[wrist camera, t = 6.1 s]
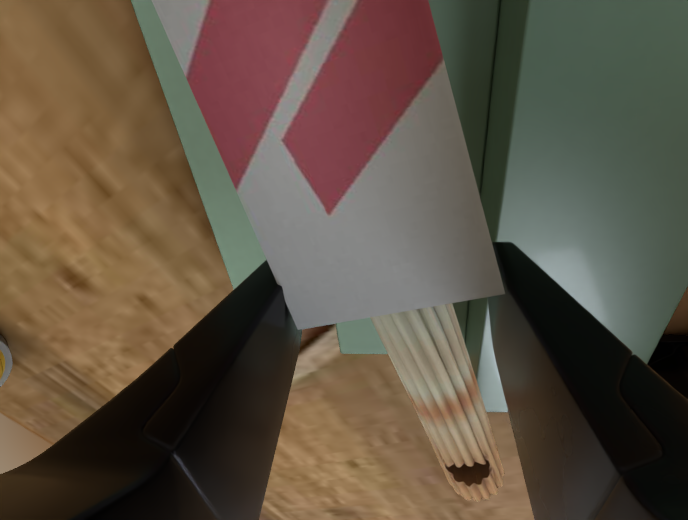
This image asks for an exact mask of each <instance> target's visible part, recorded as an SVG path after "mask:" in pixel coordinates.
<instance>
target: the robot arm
mask: <svg viewBox="0 0 688 520" xmlns="http://www.w3.org/2000/svg"><path fill="white" fill-rule="evenodd" d="M492 245H493V249H494V253H495V257H496V261H497V264H498V268H499V272H500V276H501V280H502V283H503V287H504V291H505V294H502V295H496V296H491V297H487V299H488V308H489V317H490V327H491V336H492V344H493V350H494V355H495V359H496V363H497V368H498V372H499V376H500V380H501V384H502V388H503V392H504V396H505V400H506V404H507V409H508V413H509V417H510V421H511V425H512V429H513V433H514V437H515V441H516V445H517V449H518V454H519V458H520V462H521V466H522V470H523V474H524V478H525V482H526V486H527V490H528V495H529V499H530V503H531V507H532V511H533V515H534V519H535V520H688V336H686V335H662V336H661V338H660V340H659V342H658V344H657V346H656V348H655V350H654V352H653V353H652V355H651V357H650V359H649V361H648V363H647V364H646V363H645V362H644V361H643V360H642V359H640V358H639V357H638V356H637V355H635V354H634V355H632V353H633V352H632V351H631V350H630V349H629V348H628V347H627V346H626V345H625V344H624V343H623V342H622V341H620V340H619V339H618V338H617V337H616V336H615V335H614V334H613V333H612V332H611V331H609V330H608V329H607V328H606V327H605V326H604V325H603V324H602V323H601V322H600V321H598V320H597V319H596V318H595V317H594V316H593V315H592V314H591V313H590V312H589V311H587V310H586V309H585V308H584V307H583V306H582V305H581V304H580V303H579V302H578V301H576V300H575V299H574V298H573V297H572V296H571V295H570V294H569V293H568V292H567V291H565V290H564V289H563V288H562V287H561V286H560V285H559V284H558V283H557V282H556V281H555V280H553V279H552V278H551V277H550V276H549V275H548V274H547V273H546V272H545V271H544V270H542V269H541V268H540V267H539V266H538V265H537V264H536V263H535V262H534V261H533V260H531V259H530V258H529V257H528V256H527V255H526V254H525V253H524V252H523V251H522V250H520V249H519V248H518V247H517V246H516V245H515V244H514V243H512V242H492ZM301 335H302V329H300V330H298V329H297V327H296V324H295V322H294V320H293V318H292V315H291V313H290V311H289V309H288V306H287V304H286V302H285V298H284V293H283V288H282V286H281V285H278V284H277V282H276V279H275V277H274V275H273V273H272V270H271V268H270V266H269V264H268V261H267V259H266V260H265V261H264V262H263V263H262V264H261V265H260V266H259V267H258V268H257V269H256V270H255V271H254V272H252V273H251V274H250V275H249V276H248V277H247V278H246V279H245V280H244V281H243V282H242V283H241V284H239V285H238V286H237V287H236V288H235V289H234V290H233V291H232V292H231V293H230V294H229V295H228V296H227V297H225V298H224V299H223V300H222V301H221V302H220V303H219V304H218V305H217V306H216V307H215V308H214V309H212V310H211V311H210V312H209V313H208V314H207V315H206V316H205V317H204V318H203V319H202V320H201V321H200V322H198V323H197V324H196V325H195V326H194V327H193V328H192V329H191V330H190V331H189V332H188V333H187V334H185V335H184V336H183V337H182V338H181V339H180V340H179V341H178V342H177V343H176V344H175V345H174V346H173V348H174V349H173V348H170V349H169V350H168V351H167V352H166V353H165V354H164V355H163V356H162V357H160V358H159V359H158V360H157V361H156V362H155V363H154V364H153V365H152V366H150V367H149V368H148V369H147V370H146V371H145V372H144V373H143V374H141V375H140V376H139V377H138V378H137V379H136V380H135V381H133V382H132V383H131V384H130V385H128V386H127V387H126V388H125V389H123V390H122V391H121V392H120V393H119V394H117V395H116V396H115V397H114V398H112V399H111V400H110V401H109V402H107V403H106V404H105V405H104V406H102V407H101V408H100V409H98V410H97V411H96V412H95V413H93V414H92V415H91V416H90V417H88V418H87V419H86V420H84V421H83V422H82V423H81V424H79V425H78V426H77V427H75V428H74V429H73V430H72V431H70V432H69V433H68V434H67V435H65V436H64V437H63V438H61V439H60V440H59V441H58V442H56V443H55V444H54V445H53V446H51V447H50V448H48V449H47V450H46V451H44V452H43V453H42V454H40V455H39V456H37V457H35V458H34V459H32V460H31V461H29V462H27V463H26V464H23V465H21V466H19V467H17V468H15V469H13V470H10V471H8V472H5V473H3V474H0V520H259V517H260V512H261V508H262V504H263V500H264V496H265V492H266V487H267V483H268V479H269V475H270V471H271V467H272V462H273V458H274V454H275V450H276V446H277V441H278V437H279V433H280V429H281V425H282V421H283V416H284V412H285V408H286V404H287V400H288V396H289V391H290V387H291V383H292V379H293V375H294V371H295V366H296V362H297V358H298V354H299V349H300V343H301Z"/></svg>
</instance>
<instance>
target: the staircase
mask: <svg viewBox="0 0 688 520" xmlns="http://www.w3.org/2000/svg"><path fill="white" fill-rule="evenodd" d="M428 1H429V5H430V9H431V13H432V17H433V20H434V24H435V28H436V32H437V36H438V39H439V43H440V47H441V51H442V55H443V58H444V62H445V66H446V70H447V74H448V78H449V81H450V85H451V89H452V93H453V97H454V100H455V104H456V108H457V112H458V116H459V119H460V123H461V127H462V131H463V135H464V139H465V142H466V146H467V150H468V154H469V158H470V161H471V165H472V169H473V173H474V177H475V180H476V184H477V188H478V192H479V196H480V200H481V203H482V207H483V211H484V215H485V219H486V222H487V226H488V230H489V234H490V238H491V241H492V242H512V243H514V244H515V245H516V246H517V247H518V248H519V249H520V250H522V251H523V252H524V253H525V254H526V255H527V256H528V257H529V258H530V259H531V260H533V261H534V262H535V263H536V264H537V265H538V266H539V267H540V268H541V269H542V270H544V271H545V272H546V273H547V274H548V275H549V276H550V277H551V278H552V279H553V280H555V281H556V282H557V283H558V284H559V285H560V286H561V287H562V288H563V289H564V290H565V291H567V292H568V293H569V294H570V295H571V296H572V297H573V298H574V299H575V300H576V301H578V302H579V303H580V304H581V305H582V306H583V307H584V308H585V309H586V310H587V311H589V312H590V313H591V314H592V315H593V316H594V317H595V318H596V319H597V320H598V321H600V322H601V323H602V324H603V325H604V326H605V327H606V328H607V329H608V330H609V331H611V332H612V333H613V334H614V335H615V336H616V337H617V338H618V339H619V340H620V341H622V342H623V343H624V344H625V345H626V346H627V347H628V348H629V349H630V350H631V351H632V352H633V353H632V355H634V354H635V355H637V356H638V357H639V358H640V359H642V360H643V361H644V362H645V363H646V364H647V363H648V361H649V359H650V357H651V355H652V353H653V352H654V350H655V348H656V346H657V344H658V342H659V340H660V338H661V336H662V334H663V332H664V331H665V329H666V327H667V325H668V323H669V321H670V319H671V317H672V315H673V313H674V311H675V310H676V308H677V306H678V304H679V302H680V300H681V298H682V296H683V294H684V292H685V290H686V289H687V287H688V0H428ZM131 2H132V5H133V8H134V11H135V14H136V16H137V19H138V22H139V25H140V28H141V31H142V33H143V36H144V39H145V42H146V45H147V47H148V50H149V53H150V56H151V59H152V61H153V64H154V67H155V70H156V73H157V75H158V78H159V81H160V84H161V87H162V90H163V92H164V95H165V98H166V101H167V104H168V106H169V109H170V112H171V115H172V118H173V120H174V123H175V126H176V129H177V132H178V134H179V137H180V140H181V143H182V146H183V149H184V151H185V154H186V157H187V160H188V163H189V165H190V168H191V171H192V174H193V177H194V179H195V182H196V185H197V188H198V191H199V193H200V196H201V199H202V202H203V205H204V208H205V210H206V213H207V216H208V219H209V222H210V224H211V227H212V230H213V233H214V236H215V238H216V241H217V244H218V247H219V250H220V252H221V255H222V258H223V261H224V264H225V267H226V269H227V272H228V275H229V278H230V281H231V283H232V286H233V289H235V288H236V287H237V286H238V285H239V284H241V283H242V282H243V281H244V280H245V279H246V278H247V277H248V276H249V275H250V274H251V273H252V272H254V271H255V270H256V269H257V268H258V267H259V266H260V265H261V264H262V263H263V262H264V261H265V260H266V257H265V255H264V252H263V250H262V248H261V246H260V243H259V241H258V239H257V237H256V234H255V232H254V230H253V228H252V225H251V223H250V221H249V219H248V216H247V214H246V212H245V210H244V207H243V205H242V203H241V201H240V198H239V196H238V194H237V191H236V189H235V187H234V185H233V182H232V180H231V178H230V176H229V173H228V171H227V169H226V167H225V164H224V162H223V160H222V158H221V155H220V153H219V151H218V149H217V146H216V144H215V142H214V140H213V137H212V135H211V133H210V131H209V128H208V126H207V124H206V122H205V119H204V117H203V115H202V113H201V110H200V108H199V106H198V104H197V101H196V99H195V97H194V95H193V92H192V90H191V88H190V86H189V83H188V81H187V79H186V77H185V74H184V72H183V70H182V68H181V65H180V63H179V61H178V59H177V56H176V54H175V52H174V50H173V47H172V45H171V43H170V41H169V38H168V36H167V34H166V32H165V29H164V27H163V25H162V23H161V20H160V18H159V16H158V14H157V11H156V9H155V7H154V5H153V2H152V0H131ZM452 304H453V307H454V310H455V314H456V317H457V320H458V323H459V326H460V329H461V333H462V336H463V339H464V342H465V345H466V349H467V352H468V355H469V358H470V361H471V365H472V368H473V371H474V374H475V377H476V380H477V384H478V387H479V390H480V393H481V396H482V400H483V403H484V406H485V410H486V412H508V409H507V404H506V400H505V396H504V392H503V388H502V384H501V380H500V376H499V372H498V368H497V363H496V359H495V355H494V350H493V344H492V336H491V327H490V317H489V308H488V299H487V297H485V298H479V299H473V300H468V301H462V302H456V303H452ZM336 329H337V335H338V341H339V347H340V352H341V353H343V354H388V353H387V351H386V349H385V347H384V345H383V343H382V341H381V338H380V336H379V334H378V332H377V330H376V328H375V326H374V324H373V322H372V320H371V318H364V319H358V320H352V321H347V322H341V323H336Z"/></svg>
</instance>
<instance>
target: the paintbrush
mask: <svg viewBox="0 0 688 520" xmlns="http://www.w3.org/2000/svg"><path fill="white" fill-rule="evenodd" d="M152 2H153V5H154V7H155V9H156V11H157V14H158V16H159V18H160V20H161V23H162V25H163V27H164V29H165V32H166V34H167V36H168V38H169V41H170V43H171V45H172V47H173V50H174V52H175V54H176V56H177V59H178V61H179V63H180V65H181V68H182V70H183V72H184V74H185V77H186V79H187V81H188V83H189V86H190V88H191V90H192V92H193V95H194V97H195V99H196V101H197V104H198V106H199V108H200V110H201V113H202V115H203V117H204V119H205V122H206V124H207V126H208V128H209V131H210V133H211V135H212V137H213V140H214V142H215V144H216V146H217V149H218V151H219V153H220V155H221V158H222V160H223V162H224V164H225V167H226V169H227V171H228V173H229V176H230V178H231V180H232V182H233V185H234V187H235V189H236V191H237V194H238V196H239V198H240V201H241V203H242V205H243V207H244V210H245V212H246V214H247V216H248V219H249V221H250V223H251V225H252V228H253V230H254V232H255V234H256V237H257V239H258V241H259V243H260V246H261V248H262V250H263V252H264V255H265V257H266V259H267V261H268V264H269V266H270V268H271V270H272V273H273V275H274V277H275V279H276V282H277V284H278V285H281V286H282V288H283V293H284V298H285V302H286V304H287V306H288V309H289V311H290V313H291V315H292V318H293V320H294V322H295V324H296V327H297V329H298V330H300V329H306V328H312V327H318V326H323V325H329V324H335V323H341V322H347V321H352V320H358V319H364V318H371V320H372V322H373V324H374V326H375V328H376V330H377V332H378V334H379V336H380V338H381V341H382V343H383V345H384V347H385V349H386V351H387V353H388V355H389V357H390V359H391V361H392V363H393V365H394V367H395V369H396V371H397V373H398V375H399V377H400V379H401V381H402V383H403V385H404V387H405V389H406V391H407V394H408V396H409V398H410V400H411V402H412V404H413V406H414V408H415V410H416V412H417V415H418V417H419V419H420V421H421V423H422V425H423V428H424V430H425V432H426V434H427V436H428V438H429V441H430V443H431V445H432V447H433V449H434V451H435V454H436V456H437V458H438V460H439V462H440V464H441V467H442V469H443V471H444V473H445V475H446V477H447V480H448V482H449V483H450V485H451V486H452V487H454V489H455V491H456V493H458V494H459V495H462V496H463V498H465V499H466V500H470V499H472V498H473V499H474V500H475V501H476V502H479V501H480V500H481V499H482V498H483V499H485V500H488V499H490V495H497V493H498V489H497V488H498V487H501V486H502V485H503V480H502V478H501V477H502V476H504V474H505V473H504V470H503V467H502V463H501V459H500V456H499V453H498V449H497V446H496V443H495V439H494V436H493V433H492V429H491V426H490V423H489V420H488V416H487V413H486V410H485V406H484V403H483V400H482V396H481V393H480V390H479V387H478V384H477V380H476V377H475V374H474V371H473V368H472V365H471V361H470V358H469V355H468V352H467V349H466V345H465V342H464V339H463V336H462V333H461V329H460V326H459V323H458V320H457V317H456V314H455V310H454V307H453V304H452V303H456V302H462V301H468V300H473V299H479V298H485V297H491V296H496V295H502V294H505V291H504V287H503V283H502V280H501V276H500V272H499V268H498V264H497V261H496V257H495V253H494V249H493V245H492V241H491V238H490V234H489V230H488V226H487V222H486V219H485V215H484V211H483V207H482V203H481V200H480V196H479V192H478V188H477V184H476V180H475V177H474V173H473V169H472V165H471V161H470V158H469V154H468V150H467V146H466V142H465V139H464V135H463V131H462V127H461V123H460V119H459V116H458V112H457V108H456V104H455V100H454V97H453V93H452V89H451V85H450V81H449V78H448V74H447V70H446V66H445V62H444V58H443V55H442V51H441V47H440V43H439V39H438V36H437V32H436V28H435V24H434V20H433V17H432V13H431V9H430V5H429V1H428V0H152Z"/></svg>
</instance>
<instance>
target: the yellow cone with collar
mask: <svg viewBox="0 0 688 520" xmlns="http://www.w3.org/2000/svg"><path fill="white" fill-rule="evenodd" d="M11 368H12V355H11V353H10V350H9V347H8V345H7V342H6V341H5V339H4V338H3V337H2V336H1V335H0V387H1V386H2V385H3V384H4V382H5V381H6V379H7V378H8V376H9V374H10V372H11Z"/></svg>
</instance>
